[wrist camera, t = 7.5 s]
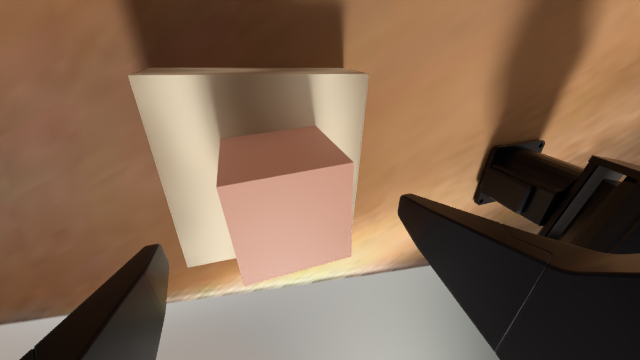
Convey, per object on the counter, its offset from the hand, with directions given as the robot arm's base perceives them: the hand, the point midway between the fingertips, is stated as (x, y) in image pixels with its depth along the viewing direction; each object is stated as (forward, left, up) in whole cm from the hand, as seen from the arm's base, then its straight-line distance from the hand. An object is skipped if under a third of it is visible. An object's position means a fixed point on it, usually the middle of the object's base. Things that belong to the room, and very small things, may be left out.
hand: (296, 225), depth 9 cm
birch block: (0, +1, -10) cm, 10 cm away
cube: (0, +1, -6) cm, 6 cm away
